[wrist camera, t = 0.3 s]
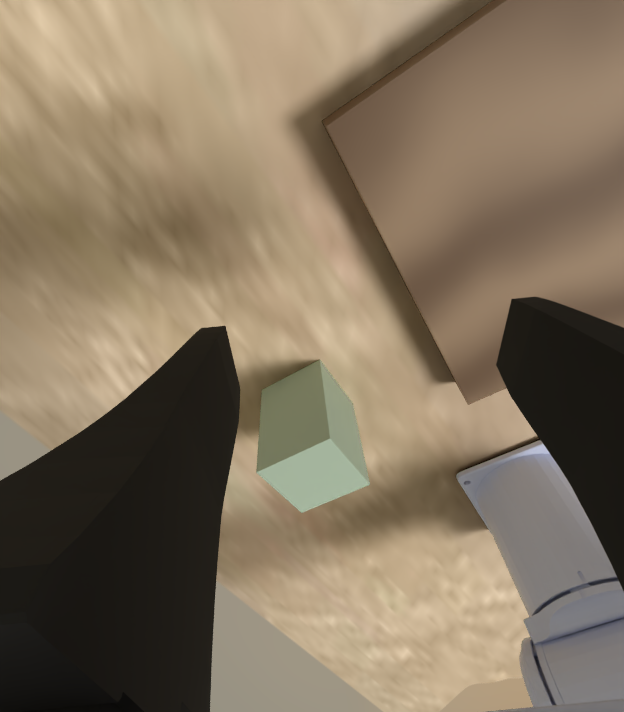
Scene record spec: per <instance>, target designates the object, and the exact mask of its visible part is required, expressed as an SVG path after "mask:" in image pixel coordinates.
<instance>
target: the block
mask: <svg viewBox="0 0 624 712" xmlns="http://www.w3.org/2000/svg"><path fill="white" fill-rule="evenodd" d="M256 473H258V474H259V475H260V476H261V477H262V478H263V479H264V480H265V481H266V482H268V483H269V484H270V485H271V486H272V487H273V488H274V489H275V490H277V491H278V492H279V493H280V494H281V495H282V496H283V497H284V498H286V499H287V500H288V501H289V502H290V503H291V504H292V505H293V506H295V507H296V508H297V509H298V510H299V511H300V512H301V513H303V512H305V511H308V510H310V509H312V508H315V507H317V506H320V505H322V504H324V503H327V502H329V501H332V500H334V499H336V498H339V497H341V496H344V495H346V494H349V493H351V492H353V491H356V490H358V489H361V488H363V487H365V486H368V485H370V482H369V477H368V473H367V468H366V463H365V459H364V454H363V449H362V444H361V440H360V435H359V430H358V426H357V421H356V416H355V411H354V407H353V403H352V402H351V400H350V399H349V398H348V396H347V395H346V394H345V392H344V391H343V390H342V388H341V387H340V386H339V384H338V383H337V382H336V380H335V379H334V378H333V376H332V375H331V374H330V372H329V371H328V370H327V368H326V367H325V366H324V364H323V363H322V362H321V360H318V361H316V362H314V363H312V364H310V365H309V366H307V367H305V368H303V369H301V370H299V371H297V372H295V373H293V374H291V375H289V376H288V377H286V378H284V379H282V380H280V381H278V382H276V383H274V384H272V385H270V386H269V387H267V388H265V389H263V390H262V396H261V411H260V426H259V441H258V456H257V471H256Z"/></svg>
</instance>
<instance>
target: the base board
mask: <svg viewBox="0 0 624 712" xmlns="http://www.w3.org/2000/svg"><path fill="white" fill-rule="evenodd" d="M322 123H323V125H324V127H325V129H326V131H327V133H328V135H329V136H330V138H331V140H332V142H333V144H334V146H335V148H336V150H337V152H338V154H339V156H340V158H341V160H342V162H343V164H344V166H345V168H346V170H347V172H348V174H349V175H350V177H351V179H352V181H353V183H354V185H355V187H356V189H357V191H358V193H359V195H360V197H361V199H362V201H363V203H364V205H365V207H366V209H367V211H368V212H369V214H370V216H371V218H372V220H373V222H374V224H375V226H376V228H377V230H378V232H379V234H380V236H381V238H382V240H383V242H384V244H385V246H386V248H387V250H388V251H389V253H390V255H391V257H392V259H393V261H394V263H395V265H396V267H397V269H398V271H399V273H400V275H401V277H402V279H403V281H404V283H405V285H406V287H407V289H408V290H409V292H410V294H411V296H412V298H413V300H414V302H415V304H416V306H417V308H418V310H419V312H420V314H421V316H422V318H423V320H424V322H425V324H426V326H427V327H428V329H429V331H430V333H431V335H432V337H433V339H434V341H435V343H436V345H437V347H438V349H439V351H440V353H441V355H442V357H443V359H444V361H445V363H446V365H447V366H448V368H449V370H450V372H451V374H452V376H453V378H454V380H455V382H456V384H457V386H458V387H459V389H460V391H461V393H462V395H463V396H464V398H465V400H466V402H467V404H468V405H469V404H471V403H474V402H476V401H478V400H480V399H483V398H485V397H487V396H489V395H492V394H494V393H496V392H499V391H501V390H503V389H505V388H507V387H506V385H505V383H504V381H503V379H502V377H501V375H500V372H499V370H498V368H497V366H496V363H497V359H498V355H499V350H500V346H501V342H502V338H503V333H504V329H505V325H506V321H507V316H508V312H509V308H510V304H511V299H516V298H526V297H540V298H544V299H547V300H551V301H554V302H557V303H560V304H563V305H565V306H568V307H571V308H574V309H576V310H579V311H582V312H584V313H587V314H589V315H592V316H595V317H597V318H600V319H602V320H605V321H608V322H610V323H613V324H616V325H618V326H621V327H624V0H493V1H491V2H490V3H489V4H487V5H486V6H484V7H483V8H482V9H480V10H479V11H477V12H476V13H474V14H473V15H472V16H470V17H469V18H467V19H466V20H465V21H463V22H462V23H460V24H459V25H457V26H456V27H455V28H453V29H452V30H450V31H449V32H447V33H446V34H445V35H443V36H442V37H440V38H439V39H438V40H436V41H435V42H433V43H432V44H430V45H429V46H428V47H426V48H425V49H423V50H422V51H421V52H419V53H418V54H416V55H415V56H413V57H412V58H411V59H409V60H408V61H406V62H405V63H403V64H402V65H401V66H399V67H398V68H396V69H395V70H394V71H392V72H391V73H389V74H388V75H386V76H385V77H384V78H382V79H381V80H379V81H378V82H377V83H375V84H374V85H372V86H371V87H369V88H368V89H367V90H365V91H364V92H362V93H361V94H360V95H358V96H357V97H355V98H354V99H352V100H351V101H350V102H348V103H347V104H345V105H344V106H342V107H341V108H340V109H338V110H337V111H335V112H334V113H333V114H331V115H330V116H328V117H327V118H325V119H324V120H323V121H322Z"/></svg>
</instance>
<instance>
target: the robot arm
mask: <svg viewBox="0 0 624 712" xmlns="http://www.w3.org/2000/svg"><path fill="white" fill-rule="evenodd" d="M496 366H497V368H498V370H499V372H500V375H501V377H502V379H503V381H504V383H505V385H506V387H507V389H508V391H509V393H510V395H511V397H512V399H513V400H514V402H515V403H516V405H517V406H518V408H519V409H520V411H521V412H522V414H523V415H524V417H525V418H526V420H527V421H528V423H529V424H530V425H531V427H532V428H533V430H534V431H535V433H536V434H537V436H538V437H539V439H540V440H539V441H536V442H534V443H531V444H529V445H526V446H524V447H521V448H519V449H516V450H514V451H511V452H509V453H506V454H504V455H501V456H498V457H496V458H493V459H491V460H488V461H486V462H483V463H481V464H478V465H476V466H473V467H471V468H468V469H466V470H463V471H461V472H459V473H458V474H457V476H456V478H457V480H458V482H459V484H460V485H461V487H462V488H463V490H464V491H465V493H466V495H467V496H468V498H469V499H470V501H471V502H472V504H473V506H474V507H475V509H476V510H477V512H478V514H479V515H480V517H481V518H482V520H483V521H484V523H485V525H486V526H487V528H488V529H489V531H490V532H491V534H492V535H493V537H494V540H495V542H496V544H497V546H498V548H499V551H500V553H501V555H502V557H503V559H504V562H505V564H506V566H507V568H508V570H509V573H510V575H511V577H512V579H513V581H514V584H515V586H516V588H517V590H518V592H519V595H520V597H521V599H522V601H523V603H524V606H525V608H526V610H527V612H528V615H529V618H526V619H524V623H525V625H526V628H527V630H528V632H529V634H530V637H529V638H525V639H524V640H523V641H522V644H521V652H520V658H519V660H520V667H521V672H522V675H523V679H524V682H525V685H526V688H527V691H528V693H529V696H530V699H531V702H532V704H533V707H530V708H520V709H509V710H498V711H488V712H624V327H621V326H618V325H616V324H613V323H610V322H608V321H605V320H602V319H600V318H597V317H595V316H592V315H589V314H587V313H584V312H582V311H579V310H576V309H574V308H571V307H568V306H565V305H563V304H560V303H557V302H554V301H551V300H547V299H544V298H540V297H526V298H516V299H511V304H510V308H509V312H508V316H507V321H506V325H505V329H504V333H503V338H502V342H501V346H500V350H499V355H498V359H497V363H496ZM239 406H240V386H239V382H238V377H237V373H236V369H235V365H234V360H233V356H232V352H231V348H230V343H229V339H228V335H227V331H226V326H219V327H209V328H201V329H200V330H199V331H197V332H196V333H195V334H194V335H193V336H192V337H191V338H190V339H189V340H188V341H187V342H186V343H185V344H184V345H183V346H182V347H181V348H180V349H179V350H178V351H177V352H176V353H175V354H174V355H173V356H172V357H171V358H170V359H169V360H168V361H167V362H166V363H165V364H164V365H163V366H162V367H161V368H159V369H158V370H157V371H156V372H155V373H154V374H153V375H152V376H151V377H150V378H148V379H147V380H146V381H145V382H144V383H143V384H142V385H140V386H139V387H138V388H137V389H136V390H135V391H134V392H132V393H131V394H130V395H129V396H128V397H127V398H126V399H124V400H123V401H122V402H121V403H119V404H118V405H117V406H116V407H114V408H113V409H112V410H110V411H109V412H108V413H107V414H105V415H104V416H102V417H101V418H100V419H98V420H97V421H96V422H94V423H93V424H91V425H90V426H89V427H87V428H86V429H84V430H83V431H81V432H80V433H78V434H77V435H75V436H74V437H72V438H71V439H69V440H67V441H66V442H64V443H63V444H61V445H60V446H58V447H56V448H55V449H53V450H52V451H50V452H48V453H47V454H45V455H44V456H42V457H40V458H39V459H37V460H36V461H34V462H32V463H31V464H29V465H27V466H26V467H24V468H22V469H20V470H19V471H17V472H15V473H13V474H11V475H10V476H8V477H6V478H4V479H2V480H1V481H0V712H210V690H211V663H212V641H213V622H214V603H215V589H216V575H217V560H218V548H219V536H220V525H221V515H222V508H223V501H224V496H225V491H226V485H227V480H228V475H229V470H230V465H231V460H232V454H233V449H234V444H235V439H236V433H237V428H238V422H239Z"/></svg>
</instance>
